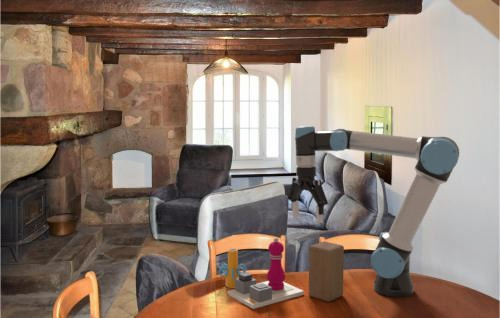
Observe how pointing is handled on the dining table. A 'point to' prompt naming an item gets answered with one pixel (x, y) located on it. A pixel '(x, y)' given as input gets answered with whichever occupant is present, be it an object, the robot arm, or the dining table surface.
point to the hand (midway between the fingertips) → (307, 220)
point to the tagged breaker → (260, 286)
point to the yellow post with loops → (232, 268)
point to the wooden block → (326, 271)
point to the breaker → (245, 276)
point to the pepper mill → (276, 266)
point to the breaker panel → (261, 293)
